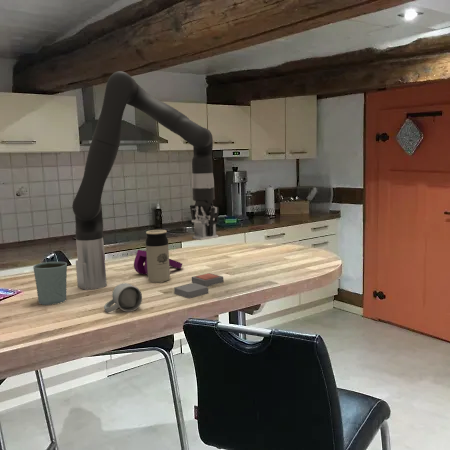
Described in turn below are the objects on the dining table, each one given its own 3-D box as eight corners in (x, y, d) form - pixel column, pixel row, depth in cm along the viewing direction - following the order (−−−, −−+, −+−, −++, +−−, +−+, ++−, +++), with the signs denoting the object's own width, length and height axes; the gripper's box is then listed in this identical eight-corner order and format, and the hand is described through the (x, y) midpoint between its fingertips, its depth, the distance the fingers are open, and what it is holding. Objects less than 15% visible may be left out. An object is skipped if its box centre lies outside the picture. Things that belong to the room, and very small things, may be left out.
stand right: (205, 286, 171) (205, 280, 171) (191, 282, 178) (191, 276, 177) (223, 282, 176) (223, 276, 176) (209, 278, 182) (209, 272, 182)
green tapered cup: (31, 301, 162) (27, 265, 160) (60, 294, 169) (57, 259, 167) (45, 307, 155) (41, 269, 153) (75, 300, 162) (72, 263, 160)
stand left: (188, 298, 159) (188, 292, 158) (174, 293, 165) (174, 287, 164) (208, 293, 164) (208, 287, 163) (194, 288, 170) (193, 282, 169)
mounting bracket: (166, 281, 203) (131, 270, 191) (172, 262, 205) (137, 249, 193) (181, 285, 197) (145, 274, 184) (187, 265, 198) (152, 252, 186)
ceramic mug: (134, 302, 156) (132, 278, 155) (143, 309, 149) (141, 284, 148) (101, 309, 151) (98, 284, 150) (108, 316, 144) (106, 290, 143)
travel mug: (146, 278, 185) (143, 230, 183) (167, 276, 188) (164, 228, 185) (150, 283, 178) (147, 233, 175) (172, 281, 181) (169, 231, 178)
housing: (201, 240, 170) (200, 221, 169) (192, 238, 174) (191, 219, 173) (218, 237, 175) (217, 218, 174) (209, 235, 179) (208, 217, 178)
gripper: (182, 186, 175) (184, 234, 178) (207, 188, 164) (209, 239, 167) (199, 185, 180) (201, 231, 182) (224, 186, 169) (226, 236, 171)
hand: (205, 235), depth 174 cm, fingers closed on housing, 5 cm apart
